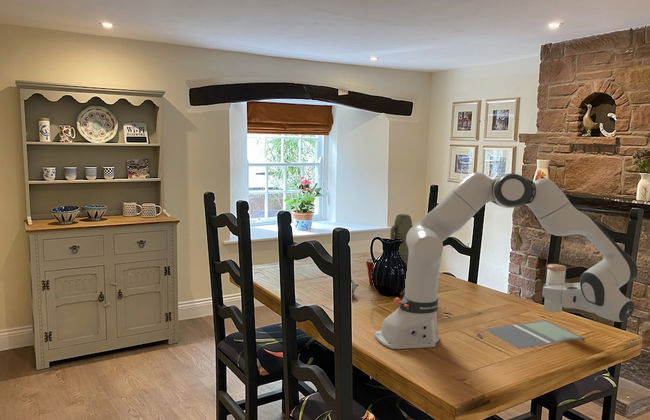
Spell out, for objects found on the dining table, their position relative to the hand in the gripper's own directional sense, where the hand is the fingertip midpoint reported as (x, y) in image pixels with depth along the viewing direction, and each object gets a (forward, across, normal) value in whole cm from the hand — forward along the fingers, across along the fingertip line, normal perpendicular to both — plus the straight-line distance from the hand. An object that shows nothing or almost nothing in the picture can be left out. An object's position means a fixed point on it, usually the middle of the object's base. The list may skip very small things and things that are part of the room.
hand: (553, 284), depth 184 cm
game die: (+61, +53, +18) cm, 83 cm away
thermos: (+59, +28, +18) cm, 68 cm away
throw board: (-1, +8, +18) cm, 20 cm away
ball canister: (-1, 0, +9) cm, 9 cm away
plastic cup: (+73, +33, +18) cm, 82 cm away
